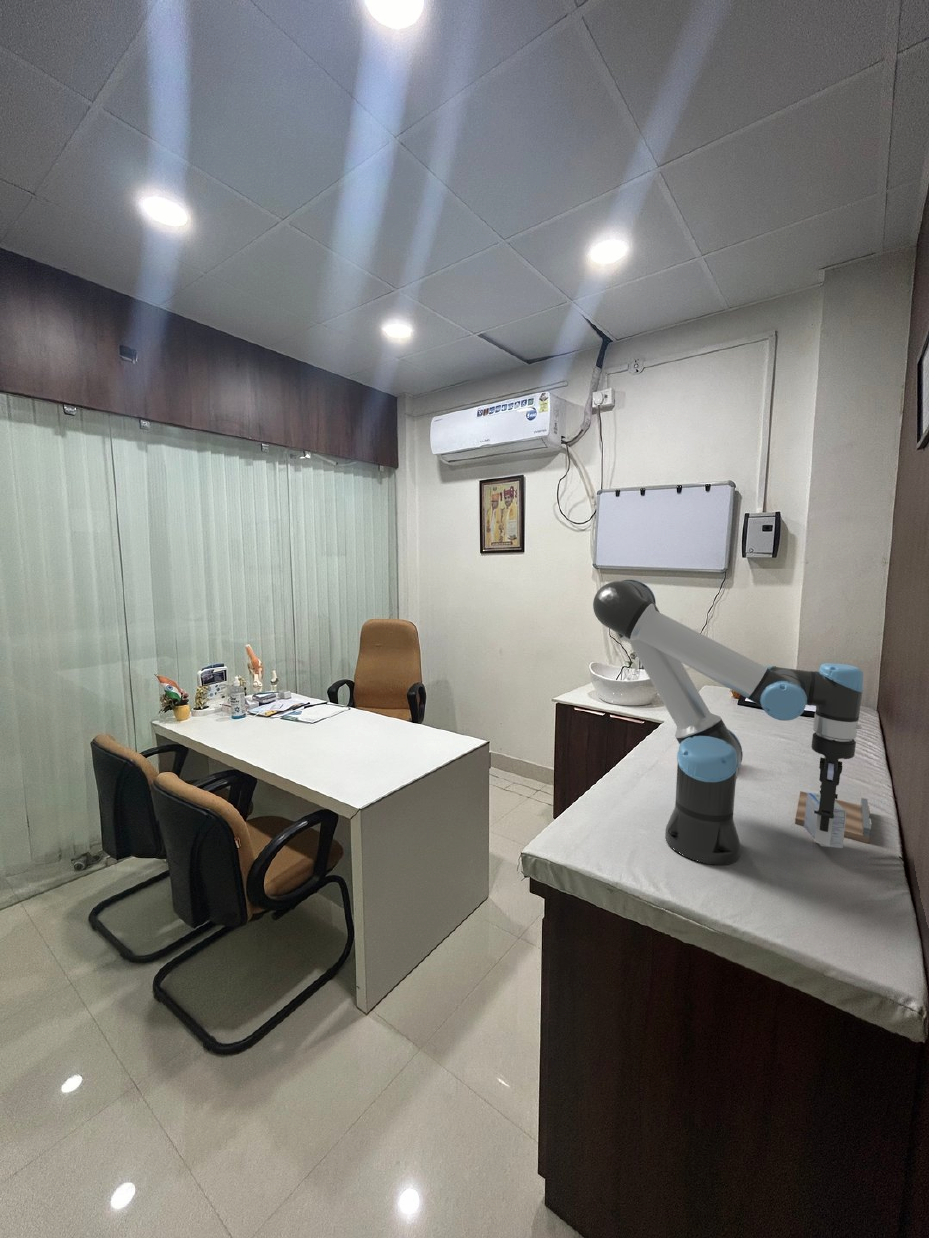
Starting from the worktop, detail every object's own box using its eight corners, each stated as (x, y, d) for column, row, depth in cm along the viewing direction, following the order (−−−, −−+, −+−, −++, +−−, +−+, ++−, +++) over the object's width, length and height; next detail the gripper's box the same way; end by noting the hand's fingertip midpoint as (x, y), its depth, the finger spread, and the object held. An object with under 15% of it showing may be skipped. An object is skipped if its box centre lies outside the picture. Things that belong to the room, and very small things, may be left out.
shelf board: (870, 843, 112) (872, 829, 112) (794, 823, 120) (796, 810, 120) (867, 812, 126) (868, 799, 126) (800, 796, 135) (801, 784, 134)
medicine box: (843, 849, 106) (847, 811, 104) (819, 846, 106) (824, 808, 105) (824, 829, 113) (828, 793, 112) (802, 827, 114) (806, 791, 113)
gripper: (857, 755, 96) (844, 863, 99) (855, 726, 113) (843, 819, 116) (810, 745, 101) (798, 849, 103) (815, 719, 118) (805, 809, 120)
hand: (822, 833), depth 110 cm, fingers closed on medicine box, 9 cm apart
